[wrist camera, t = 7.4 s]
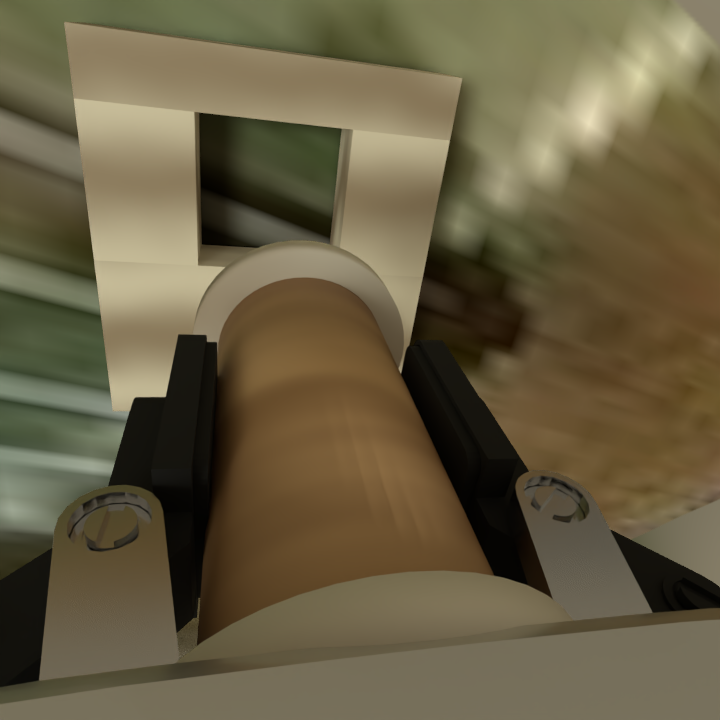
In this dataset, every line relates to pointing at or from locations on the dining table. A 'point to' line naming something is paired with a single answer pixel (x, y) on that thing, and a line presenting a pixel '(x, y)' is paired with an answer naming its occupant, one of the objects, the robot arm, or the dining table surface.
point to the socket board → (182, 173)
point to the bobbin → (330, 474)
